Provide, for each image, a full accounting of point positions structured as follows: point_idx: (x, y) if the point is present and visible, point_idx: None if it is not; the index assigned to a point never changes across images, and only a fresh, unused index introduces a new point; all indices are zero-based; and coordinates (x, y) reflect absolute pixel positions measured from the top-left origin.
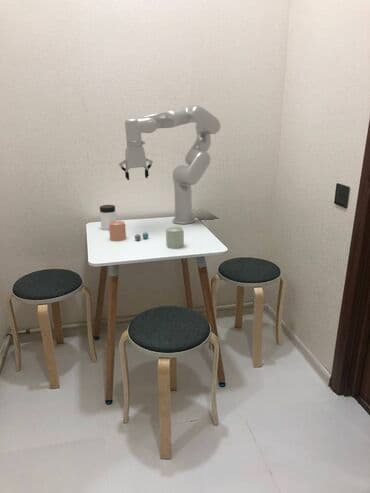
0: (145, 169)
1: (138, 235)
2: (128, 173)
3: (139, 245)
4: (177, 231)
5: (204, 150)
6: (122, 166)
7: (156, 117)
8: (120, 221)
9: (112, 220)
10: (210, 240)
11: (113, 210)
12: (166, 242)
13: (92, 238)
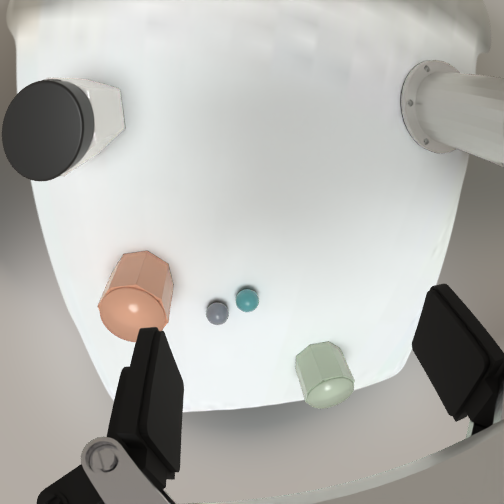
0: (479, 402)
1: (220, 324)
2: (176, 461)
3: (219, 349)
4: (330, 406)
5: None
6: None
7: None
8: (143, 300)
9: (95, 151)
10: (412, 328)
11: (83, 155)
12: (298, 365)
13: (53, 259)
